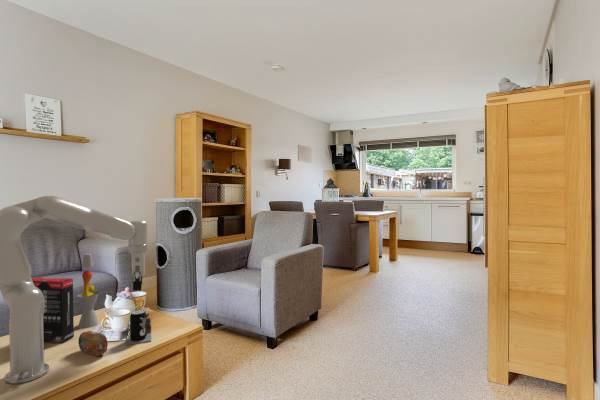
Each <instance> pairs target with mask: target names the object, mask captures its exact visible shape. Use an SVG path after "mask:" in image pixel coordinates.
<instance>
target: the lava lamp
mask: <svg viewBox="0 0 600 400" xmlns="http://www.w3.org/2000/svg"><path fill="white" fill-rule="evenodd" d="M92 256H93V255H92V253H84V254H83V258H82V265H81V268H93V267H94V263H93V262H94V261H93V257H92ZM92 277H93V272H92V271H90V270H85V271H83V272H82V275H81V278H82V281H83V292H82V293H79V294H77V295H76V296H77V299H78V302H79V304H80V306H81V308H82V312H81V315H80V316H81V317H80V318H79V319H80V320H79V322H78V325H77V327H78V328H79V329H87V328H92V327H95V326H97V325H98V324H99V320H98V317H97V315H96V312H95V309H94V307H95V305H96V302H97V299H98V298H99V297H98V296H99V294H100V293H99V292H97V291H95V286H94V285H92V284H91V285H90V281H91V279H92Z"/></svg>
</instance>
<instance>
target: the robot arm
mask: <svg viewBox="0 0 600 400" xmlns="http://www.w3.org/2000/svg"><path fill="white" fill-rule="evenodd" d="M45 219H49V220H52V221H55V222H57V223H61V224H65V225H69V226H71V227H74V228H77V229H82V230H85V231H88V232H89V231H90V232H96V233H101V234H103V235H106V236H110V237H111V238H112V239H113V238H114V239H116V240H117V239H118V240H122V241H127V240H128V247H127V248H128V253H129V254H131V255H130V257H131V258H130V259H131V274H132V275H131V276H133V281H132V283H133V284H132V286H133V287H132V291H133V292H135V291H142V285H143V276H145V275H146V253H147V252H148V222H147V221H146V220H132V221H126V220H124V219H121V218H119V217H115V216H112V215H110V214H106V213H104V212H100V211H99V210H95V209H93V208H90V207H87V206H84V205H82V204H79V203H75V202H73V201H70V200H68V199H64V198H61V197H59V196H54V195H43V196H39V197H37V198H33V199H30V200H27V201H23V202H22V201H21V202H19V203H16V204H12V205H9V206H6V207H3V208H1V209H0V293H1V296H2V298H3V300H4V302H5V303H6V305H7V306H8V307H9V324H8V326H9V328H8V330H9V331H8V335H9V372H7V373H5V375H4V377H3V380H4V381H3V382H5V383H6V384H11V385H13V384H14V385H15V384H22V383H27V382H31V381H33V380H36V379H38V378H41V377H43V376H44V375H45V374H47V373H48V372H49V370H50V364H48V363H46V362H45V351H44V350H45V348H44V347H45V345H44V344H45V342H44V330H43V314H44V305H45V299H44V295H43V293H42V292H41V290H40V289H38V288H37V287H36V286H34V284H33V281H32V279H33V278H32V276H31V275H32V267H31V264H30V262H29V261H28V258H27V256H26V254H25V251H24V248H23V245H22V244H23V243H22V242H21V236H22V234H23V232H24V231H25V230H26V229H27V228H28V227H29V226H30V225H31V224H33V223H36V222H39V221H42V220H45Z"/></svg>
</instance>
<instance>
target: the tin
mask: <svg viewBox="0 0 600 400" xmlns="http://www.w3.org/2000/svg"><path fill="white" fill-rule="evenodd" d="M77 343H78V347H79V350H80V351H81V352H82V353H83V354H87V355H91V356H93V357H99V356H102V355H104V354H105V353H106V352H107V350H108V338H107V337H106V335H105V334H104V333H100V332H96V331H93V330H87V331H83V332H81V333H80V334H79V337H78V342H77Z"/></svg>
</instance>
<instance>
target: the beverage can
mask: <svg viewBox="0 0 600 400" xmlns="http://www.w3.org/2000/svg"><path fill="white" fill-rule="evenodd" d="M146 318H147V312H146V310H145V309H135V310H132V311H131V312H130V316H129V321H130V329H129V336H130V339H131V340H132V341H140V340H143V339H144V338H145V337H146V334H147V327H146Z"/></svg>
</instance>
